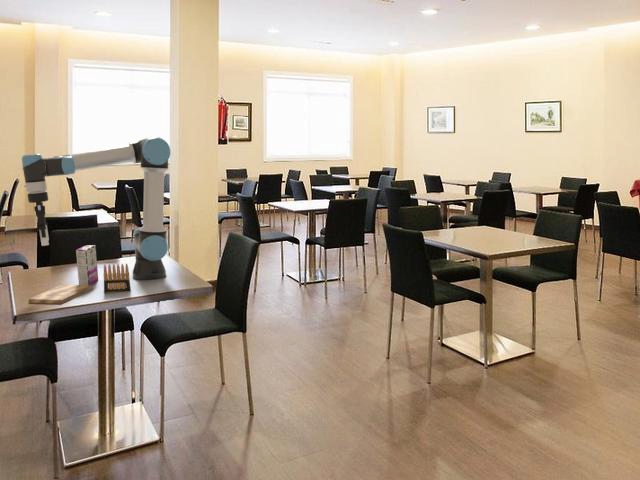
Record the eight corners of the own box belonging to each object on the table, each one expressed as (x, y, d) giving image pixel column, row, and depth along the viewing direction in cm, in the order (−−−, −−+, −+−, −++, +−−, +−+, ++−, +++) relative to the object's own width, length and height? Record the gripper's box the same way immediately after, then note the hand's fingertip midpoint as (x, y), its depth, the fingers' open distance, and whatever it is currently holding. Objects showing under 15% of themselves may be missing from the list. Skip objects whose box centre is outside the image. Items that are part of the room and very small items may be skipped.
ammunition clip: (130, 290, 260) (129, 262, 258) (130, 291, 258) (128, 263, 256) (104, 291, 258) (102, 263, 256) (104, 292, 257) (102, 264, 255)
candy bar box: (87, 280, 279) (85, 245, 277) (98, 280, 279) (96, 245, 276) (77, 286, 268) (75, 249, 265) (89, 286, 268) (86, 249, 265)
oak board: (92, 288, 263) (91, 285, 263) (62, 303, 240) (61, 299, 239) (61, 288, 265) (61, 284, 265) (29, 302, 241) (28, 298, 241)
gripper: (28, 191, 259) (36, 240, 263) (26, 195, 236) (34, 248, 240) (47, 189, 262) (54, 237, 266) (46, 193, 239) (55, 245, 243)
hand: (45, 243), depth 253 cm, fingers open, 13 cm apart
